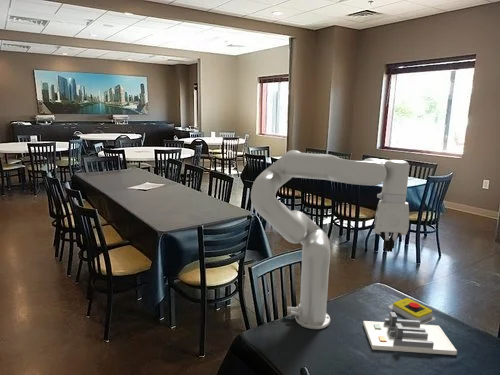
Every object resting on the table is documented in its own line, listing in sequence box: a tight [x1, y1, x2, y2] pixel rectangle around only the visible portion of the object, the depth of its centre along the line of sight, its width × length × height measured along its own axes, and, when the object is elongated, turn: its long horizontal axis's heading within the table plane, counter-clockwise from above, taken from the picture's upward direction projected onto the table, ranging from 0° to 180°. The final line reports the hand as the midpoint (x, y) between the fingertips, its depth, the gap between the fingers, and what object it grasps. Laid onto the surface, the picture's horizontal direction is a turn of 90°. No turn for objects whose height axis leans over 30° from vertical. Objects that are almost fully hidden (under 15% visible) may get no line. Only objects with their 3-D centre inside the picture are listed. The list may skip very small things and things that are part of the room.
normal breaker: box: [388, 311, 398, 327], centre depth 127 cm, size 2×3×5 cm, turn 174°
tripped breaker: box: [394, 323, 403, 339], centre depth 120 cm, size 2×3×5 cm, turn 175°
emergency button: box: [387, 297, 436, 325], centre depth 140 cm, size 9×4×15 cm
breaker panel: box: [362, 317, 458, 356], centre depth 124 cm, size 26×14×3 cm, turn 85°
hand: (388, 250), depth 125 cm, fingers closed
